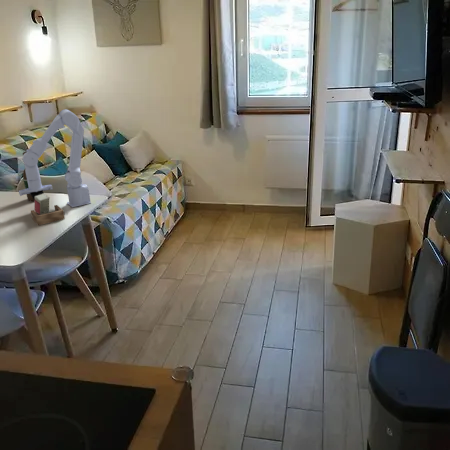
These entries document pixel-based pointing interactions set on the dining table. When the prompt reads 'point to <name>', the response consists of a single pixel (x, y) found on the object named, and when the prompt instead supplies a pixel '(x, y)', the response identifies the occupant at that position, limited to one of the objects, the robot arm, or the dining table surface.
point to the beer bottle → (26, 184)
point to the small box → (41, 204)
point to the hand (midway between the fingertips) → (39, 206)
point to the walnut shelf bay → (48, 216)
